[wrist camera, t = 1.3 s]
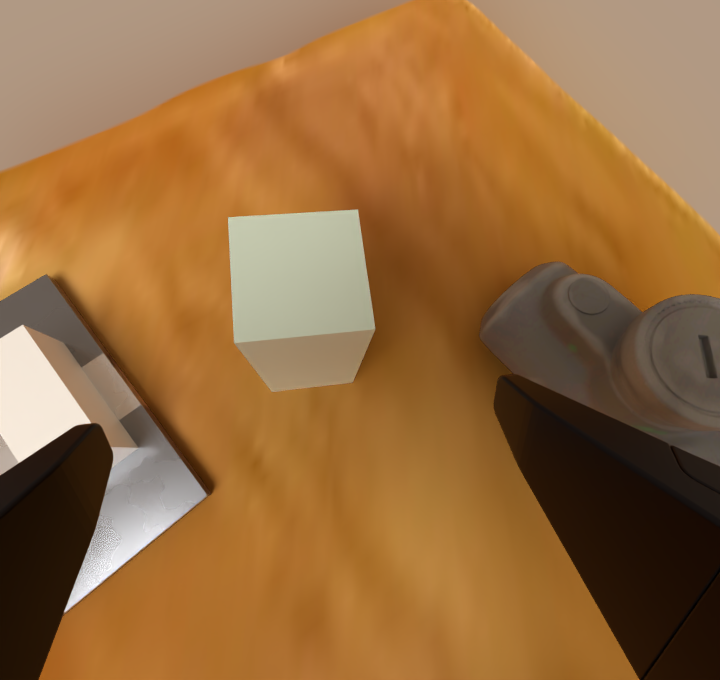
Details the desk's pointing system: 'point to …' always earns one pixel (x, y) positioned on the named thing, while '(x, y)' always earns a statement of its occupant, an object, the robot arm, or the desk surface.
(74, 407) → the mounted modules
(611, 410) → the pipe fitting
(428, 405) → the desk surface
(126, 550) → the mounting plate
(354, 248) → the block
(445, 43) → the desk surface
